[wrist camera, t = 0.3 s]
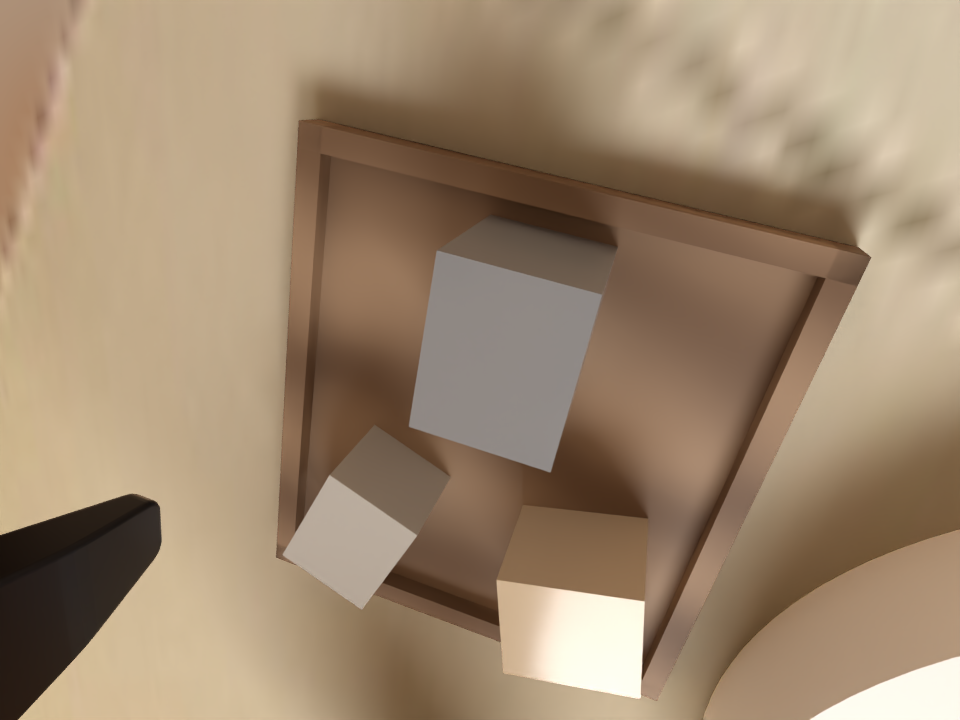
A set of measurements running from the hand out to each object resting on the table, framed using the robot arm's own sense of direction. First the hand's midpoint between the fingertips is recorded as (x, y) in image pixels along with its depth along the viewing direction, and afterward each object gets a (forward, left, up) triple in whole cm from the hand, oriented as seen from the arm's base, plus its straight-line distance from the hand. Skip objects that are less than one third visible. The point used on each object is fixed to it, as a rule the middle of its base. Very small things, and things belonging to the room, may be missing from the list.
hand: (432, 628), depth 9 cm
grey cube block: (0, +1, -12) cm, 13 cm away
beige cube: (-9, +5, -12) cm, 16 cm away
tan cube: (-9, -3, -12) cm, 15 cm away
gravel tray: (-5, +1, -13) cm, 14 cm away
